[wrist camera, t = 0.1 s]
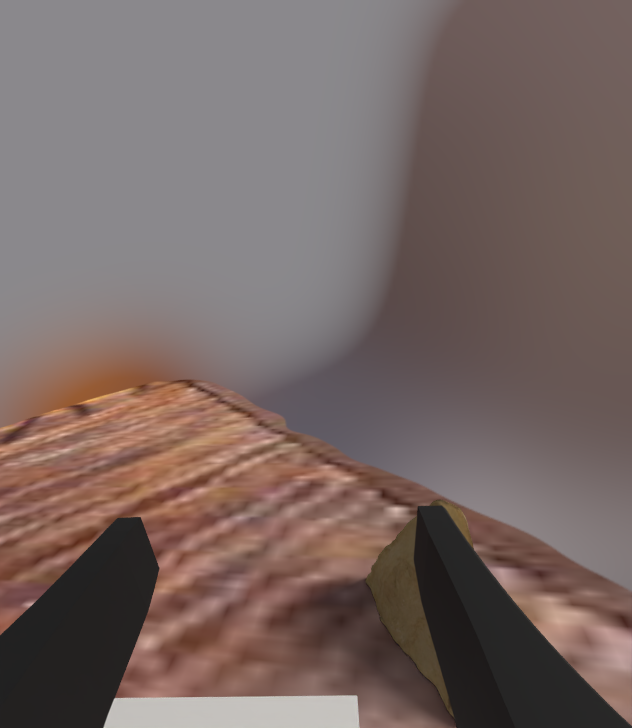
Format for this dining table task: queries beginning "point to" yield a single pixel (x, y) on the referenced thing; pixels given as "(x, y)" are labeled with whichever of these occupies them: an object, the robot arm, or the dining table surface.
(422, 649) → the rock
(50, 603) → the robot arm
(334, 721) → the base plinth
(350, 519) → the dining table surface
